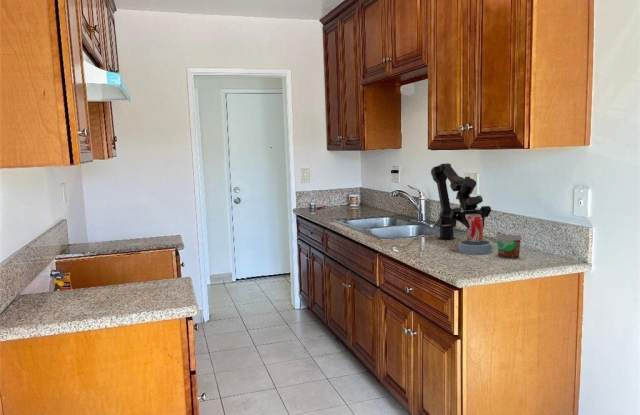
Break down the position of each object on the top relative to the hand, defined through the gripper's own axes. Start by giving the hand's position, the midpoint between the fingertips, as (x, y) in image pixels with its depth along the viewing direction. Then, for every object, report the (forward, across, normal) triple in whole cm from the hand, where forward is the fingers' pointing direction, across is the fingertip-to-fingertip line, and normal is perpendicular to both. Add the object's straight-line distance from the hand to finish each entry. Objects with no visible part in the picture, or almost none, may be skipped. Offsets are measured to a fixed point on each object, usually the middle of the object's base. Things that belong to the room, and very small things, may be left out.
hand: (476, 227), depth 225 cm
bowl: (+7, 0, +9) cm, 11 cm away
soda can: (+4, 0, +6) cm, 7 cm away
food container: (+18, +7, -1) cm, 19 cm away
